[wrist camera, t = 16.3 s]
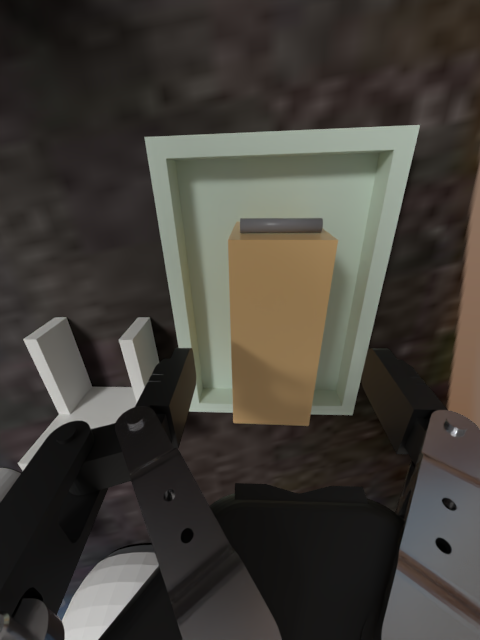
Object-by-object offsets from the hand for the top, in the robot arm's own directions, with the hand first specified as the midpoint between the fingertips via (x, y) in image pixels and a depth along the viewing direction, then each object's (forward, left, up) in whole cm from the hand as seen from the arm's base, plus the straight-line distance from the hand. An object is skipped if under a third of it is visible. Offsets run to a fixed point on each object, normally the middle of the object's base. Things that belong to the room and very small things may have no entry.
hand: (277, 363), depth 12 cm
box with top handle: (+1, 0, -9) cm, 8 cm away
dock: (+6, -14, -9) cm, 18 cm away
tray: (0, 0, -9) cm, 9 cm away
